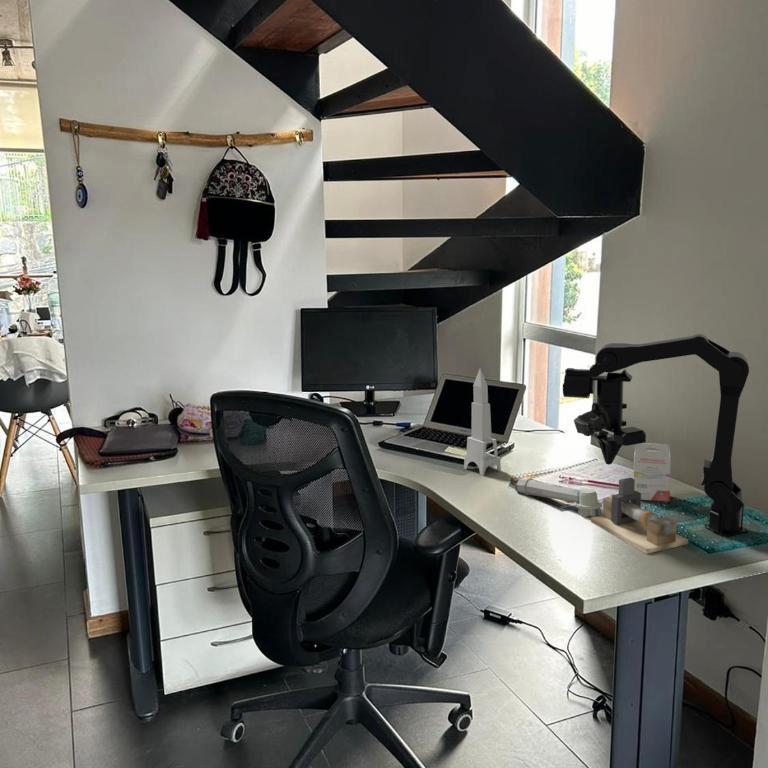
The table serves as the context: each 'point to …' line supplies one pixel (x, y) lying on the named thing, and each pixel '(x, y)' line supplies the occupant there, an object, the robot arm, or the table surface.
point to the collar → (624, 495)
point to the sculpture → (481, 429)
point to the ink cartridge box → (652, 471)
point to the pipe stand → (640, 528)
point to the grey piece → (562, 495)
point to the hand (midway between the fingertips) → (608, 464)
